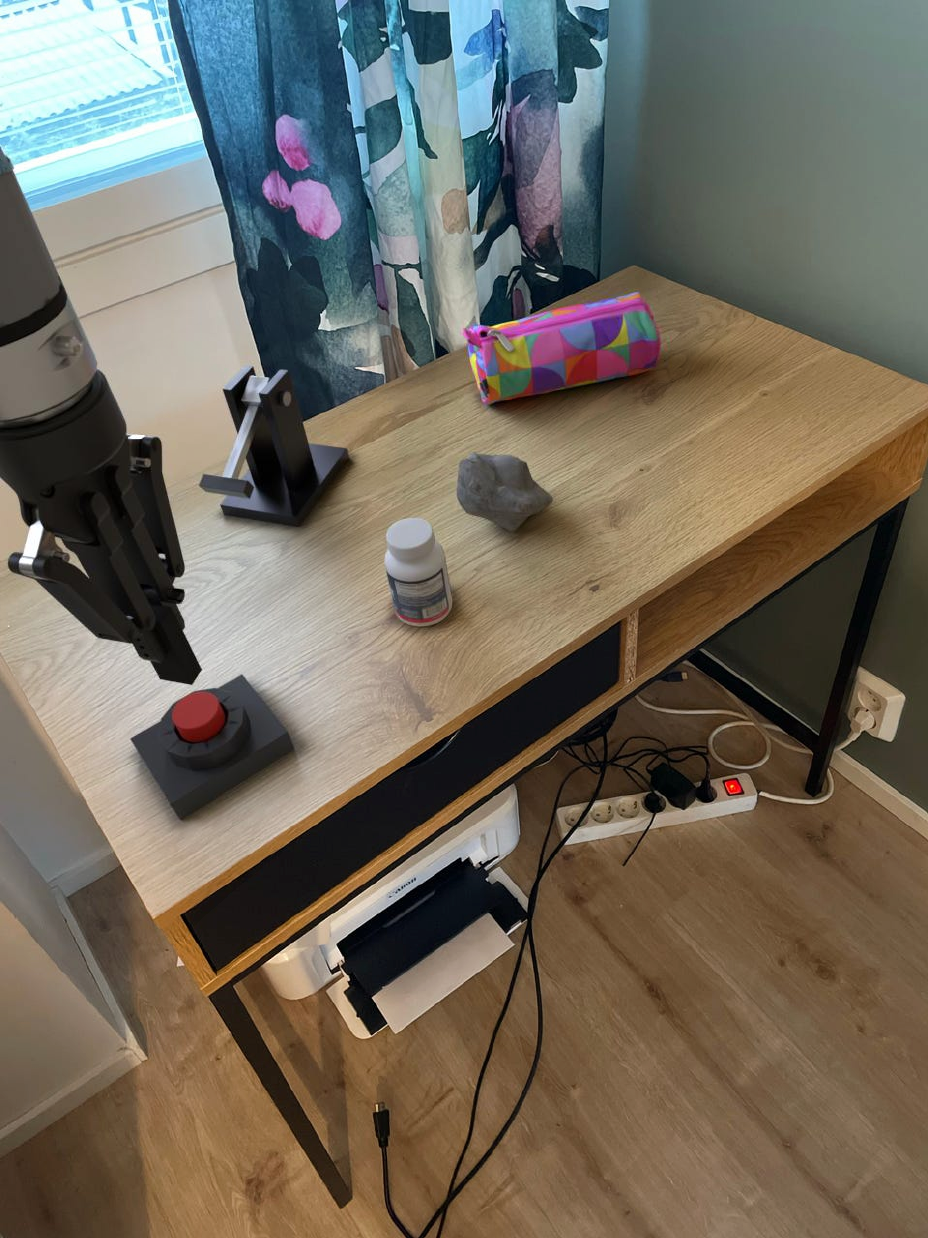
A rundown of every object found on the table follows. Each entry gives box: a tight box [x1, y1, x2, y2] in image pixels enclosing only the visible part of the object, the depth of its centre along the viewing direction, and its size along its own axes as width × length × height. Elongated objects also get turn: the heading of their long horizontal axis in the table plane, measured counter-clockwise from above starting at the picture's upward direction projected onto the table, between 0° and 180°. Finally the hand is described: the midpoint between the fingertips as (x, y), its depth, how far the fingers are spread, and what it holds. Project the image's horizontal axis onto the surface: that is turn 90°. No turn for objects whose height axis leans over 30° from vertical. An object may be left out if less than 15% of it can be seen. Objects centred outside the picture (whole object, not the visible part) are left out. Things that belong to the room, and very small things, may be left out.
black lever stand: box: [219, 365, 350, 528], centre depth 91 cm, size 12×9×13 cm
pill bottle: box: [384, 517, 453, 627], centre depth 77 cm, size 5×5×9 cm
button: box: [172, 692, 225, 742], centre depth 68 cm, size 4×4×2 cm
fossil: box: [456, 451, 554, 532], centre depth 85 cm, size 11×9×8 cm
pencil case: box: [461, 291, 662, 405], centre depth 101 cm, size 22×9×9 cm, turn 103°
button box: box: [129, 673, 296, 821], centre depth 70 cm, size 10×8×4 cm
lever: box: [198, 375, 272, 499], centre depth 87 cm, size 12×5×2 cm, turn 161°
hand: (181, 674), depth 65 cm, fingers closed
